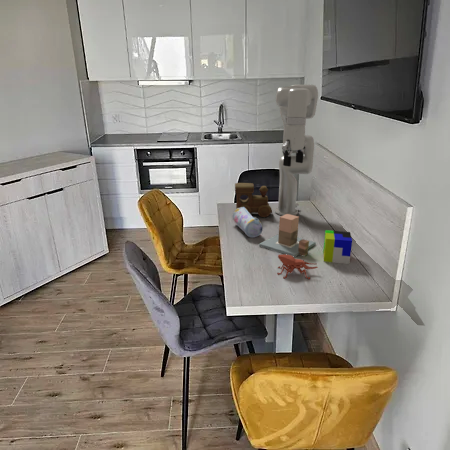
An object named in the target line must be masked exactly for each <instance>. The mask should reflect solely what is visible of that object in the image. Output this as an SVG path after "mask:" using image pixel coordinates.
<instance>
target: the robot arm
mask: <svg viewBox="0 0 450 450" xmlns="http://www.w3.org/2000/svg"><path fill="white" fill-rule="evenodd" d="M318 98H319V91H318V87H317V86H316V85H314V84H298V83H297V84H292V85H289V86H280V87H278V88H277V91H276V94H275V104H276V106H277V107H279V113H280V117H281V120H282V123H283V137H282V146H281V149H282V154H283V155H282V156H281V157H280V159H279V161H278V167H279V184H278V185H279V186H278V187H279V188H278V203H277V204H278V205H277V208H276V209H275V210H274V212H275V214H276V215H278V216H283V215H285V214H290V215H294V216H297V215H299V210H298V209H297V208H298V207H299V205H300V203H298V202H297V196H298V195H297V193H298V180H297V179H296V177H295V176H294V175H309V174H311V173H312V170H313V165H314V154H315V152H314V150H315V140H314V137H313V136H312V135H309V134H306V124H307V123H306V122H307V119H308V120H309V119H312V118H315V117H314V116H315V115H316V111H317V106H318V101H319V100H318ZM292 154H295V155H292Z"/></svg>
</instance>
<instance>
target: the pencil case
mask: <svg viewBox="0 0 450 450" xmlns="http://www.w3.org/2000/svg"><path fill="white" fill-rule="evenodd" d="M231 217H232V220H233V222H234V224H236V225H237V227H239V229H241V231H242V232H244V233H245V235H246V237H248V238H257V237H259V236H260V235H261V234H262V233H263V229H264V228H263V225H262V222H261V221H260V219H259V218H257V216H252V213H251V214H250V213H249V212H248V211H247V209H246V208H244V207H240V208H237V209H235V210H234V211H233V213H232V216H231Z"/></svg>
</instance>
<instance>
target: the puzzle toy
mask: <svg viewBox="0 0 450 450" xmlns="http://www.w3.org/2000/svg"><path fill="white" fill-rule="evenodd" d="M352 246H353V238H352V235H351V231H339V230H328V229H326V230H325V232H324V241H323V249H322V255H323V262H326V263H333V264H334V263H336V264H345V265H346V264H347V265H349V264H350V262H351V261H350V260H351V254H352Z"/></svg>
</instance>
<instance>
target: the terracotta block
mask: <svg viewBox="0 0 450 450" xmlns="http://www.w3.org/2000/svg"><path fill="white" fill-rule="evenodd" d="M299 219H300V216H297V215H290V214H285V215H280V216H279V221H278V222H279V223H278V224H279V225H278V231H279V230H281V231H284V232H288V233H292V232H294V231H296V230H298V231H299V223H300V222H299V221H300V220H299Z"/></svg>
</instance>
